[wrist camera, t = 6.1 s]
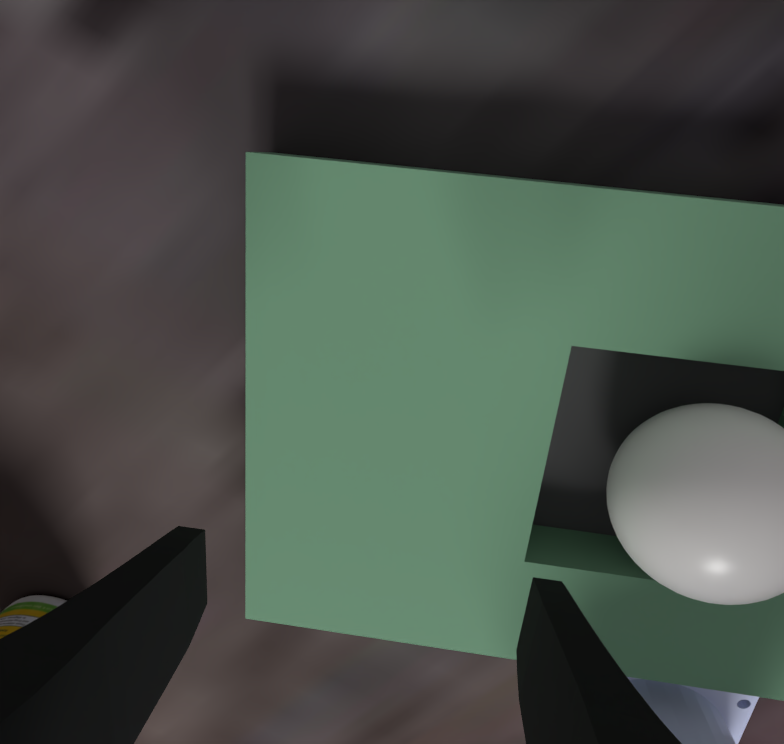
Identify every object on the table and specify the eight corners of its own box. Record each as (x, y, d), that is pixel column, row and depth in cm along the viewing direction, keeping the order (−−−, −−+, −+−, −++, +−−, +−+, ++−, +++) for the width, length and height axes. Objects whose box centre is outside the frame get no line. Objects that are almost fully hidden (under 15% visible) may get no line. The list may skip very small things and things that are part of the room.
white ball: (666, 664, 15) (546, 516, 20) (813, 639, 17) (672, 511, 22) (775, 480, 13) (608, 364, 18) (929, 478, 15) (742, 376, 20)
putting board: (794, 652, 23) (832, 707, 21) (265, 574, 25) (245, 618, 22) (991, 226, 17) (1077, 236, 15) (272, 152, 18) (245, 151, 16)
